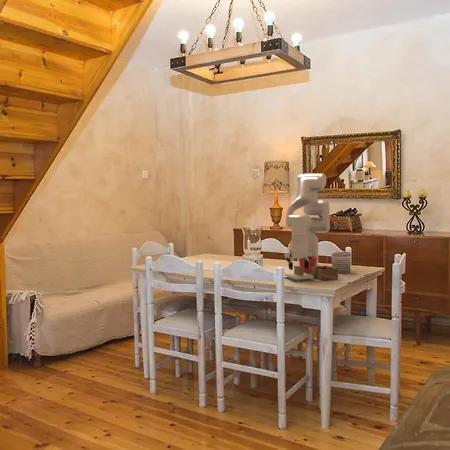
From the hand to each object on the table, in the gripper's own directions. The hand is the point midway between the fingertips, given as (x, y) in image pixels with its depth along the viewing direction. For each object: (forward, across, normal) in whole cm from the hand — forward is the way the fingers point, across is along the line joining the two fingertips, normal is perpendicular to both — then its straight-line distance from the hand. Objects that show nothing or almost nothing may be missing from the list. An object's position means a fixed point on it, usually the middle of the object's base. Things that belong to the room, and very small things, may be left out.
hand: (298, 268), depth 287 cm
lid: (+4, 0, 0) cm, 4 cm away
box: (+6, -14, +4) cm, 16 cm away
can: (+6, -33, -8) cm, 34 cm away
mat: (+6, 0, 0) cm, 6 cm away
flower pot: (+6, -15, -16) cm, 23 cm away
